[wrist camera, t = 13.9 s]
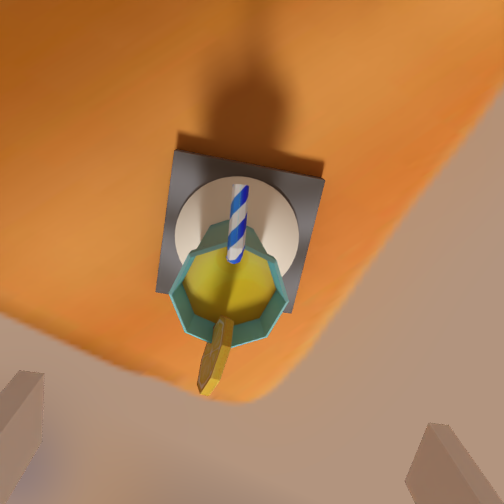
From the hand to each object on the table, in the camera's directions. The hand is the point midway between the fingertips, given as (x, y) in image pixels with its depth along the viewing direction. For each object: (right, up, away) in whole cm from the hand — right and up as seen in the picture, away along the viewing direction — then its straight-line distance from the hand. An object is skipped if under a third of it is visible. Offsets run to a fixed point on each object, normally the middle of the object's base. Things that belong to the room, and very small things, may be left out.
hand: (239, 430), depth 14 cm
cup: (-1, +7, +22) cm, 23 cm away
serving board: (-1, +8, +23) cm, 25 cm away
